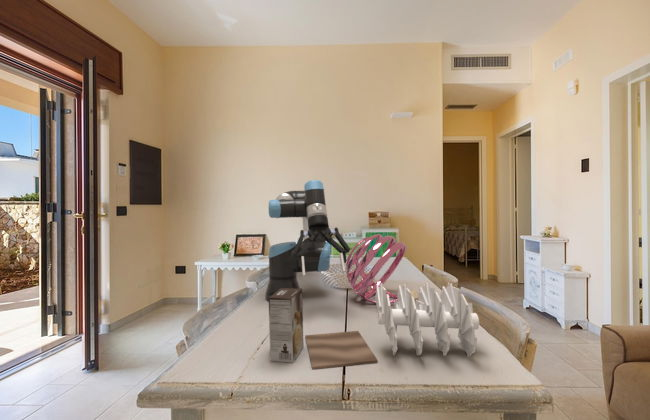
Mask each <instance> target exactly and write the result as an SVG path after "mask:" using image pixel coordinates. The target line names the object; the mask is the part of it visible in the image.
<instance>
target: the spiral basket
mask: <svg viewBox="0 0 650 420" xmlns="http://www.w3.org/2000/svg"><path fill="white" fill-rule="evenodd" d="M375 239H376V241H375V244H373V246H372V247H371V248H370V249H369V246H370V243H371V242H372V241H373V240H375ZM387 242H388V245H387V246H386V249H385V251H384V253H383V254H382V255H381V256H380V258H379V259H378V260H377V261H376V262H375V264H374V265H373V266H372V268H371V269H370V271H369V272H368V273H366V272H365V269H366V268H367V267H368V266H369V264H370V263H371V262H372V261H373V259H374V258H375V257H376V255H377V254H378V252H379V250H380V249H381V247H382V246H383V245H385V243H387ZM358 246H359V247H358ZM367 249H369V250H368V251H367ZM366 251H367V252H366ZM397 251H398V252H397ZM406 251H407V245H406V243H404V242H403V241H398V242H397V241H396V238H395V237H394V236H392V235H385V236H383V235H382V234H380V233H378V234H373V235H371V236H366V237H363V238H362V239H360V240H359V241H358V242H356V243H355V245H354V246H353V247H352V249H350V251H349V254H348V256H347V257H346V259H347V261H346V263H345V265H346V266H345V267H346V268H345V274H346V278H347V282H348V283H349V286H350V287H351V289H352V291H353V292H354V293H355V294H356V295H357V296H358V297H359V298H361V299H362V300H363V301H365V302H367V303H371V304H375V305H376V300H372V299H370V298H371V297H372V296H373V295H376V287H377V286H378V287H379V286H380V283H382V285H383V286H384V285H385V283H386V282H387V280H388V279H389V278H391V275H393V273H394V272H395V270H396V269H397V268H398V266H399V264H400V263H401V261H402V259H403V258H404V256H405V254H406ZM365 252H366V253H365ZM395 253H397V255H396V256H395V258H394V260H393V261H392V263H391V264H390V266H389V267H388V269H387V270H386V271H385V273H384V274H383V275H382V276H381V277H380V279H379V280H378V281H376V282H374V281H373V280H374V279H375V277H376V276H377V275H378V273H379V272H380V270H382V268H383V267H384V265H385V264H386V263H387V262H388V261H389V260H390V259H391V258H392V257H393V256H394V254H395ZM360 259H361V260H360ZM359 260H360V261H359ZM354 264H355V269H354V270H353V271H351V269H352V266H353V265H354ZM350 271H351V272H350ZM359 275H360V276H361V280H360V281H359V282H357V280H358V278H359ZM356 282H357V283H356ZM369 287H370V289H369ZM368 289H369V290H368ZM367 290H368V291H367ZM386 294H389V298H392V299H393V300H390V305H392V304H394V302H398V298H397V294H395V293H391V292H389V291H387V290H386Z"/></svg>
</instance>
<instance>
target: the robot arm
mask: <svg viewBox="0 0 650 420" xmlns="http://www.w3.org/2000/svg"><path fill="white" fill-rule="evenodd" d="M327 211H328V210H327V204H326V196H325V188H324V184H323V182H322V181H321V180H318V179H311V180H307V182H305V184H304V190H288V191H285V192H283V193H280V194H279V195H278V196H277V197H276V198H275V199H270V200H269V201H268V217H270V218H273V219H279V218H280V219H281V218H302V229H301V230H300V234H299V238H298V240H297V242H296V241H286V242H279V243H276V244H273V245H270V246H269V248H268V269H269V270H268V272H269V273H268V274H269V275H268V277H269V278H268V283H267V287H266V291H265V300H266V301H268V302H269V297H270V296H272V295H273V294H274V293H275V292H277V291H278V290H279V289H281V288H290V289H301V288H300V285H299V282H298V277H297V274H298V273H302V278H305V277H306V273H309V272H311V273H313V272H314V273H316V272H318V273H321V272H326V271H328V270H329V269H330V264H331V247H332V248H334V249H335V250H336V251H337V252H338V253H339V261H340V270H341V274H346V268H345V267H346V266H345V264H347V255H346V254H348V253H350V252H351V248H350V246H349V245H348V243H347V242H346V240H344V238H343V236H342V235H341V234H340V232H339V229H338V227H334V228H332V229H330V225H329V220H328V218H329V217H328V212H327ZM331 234H332V235H333V236H335V239H336V240H337V241H335V240H334V239H333V237H332V236H331ZM338 242H339V243H338Z"/></svg>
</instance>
